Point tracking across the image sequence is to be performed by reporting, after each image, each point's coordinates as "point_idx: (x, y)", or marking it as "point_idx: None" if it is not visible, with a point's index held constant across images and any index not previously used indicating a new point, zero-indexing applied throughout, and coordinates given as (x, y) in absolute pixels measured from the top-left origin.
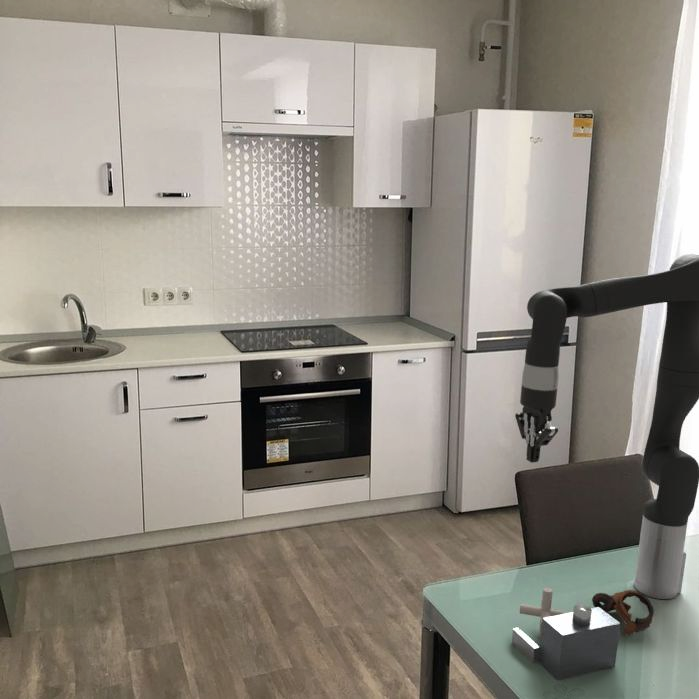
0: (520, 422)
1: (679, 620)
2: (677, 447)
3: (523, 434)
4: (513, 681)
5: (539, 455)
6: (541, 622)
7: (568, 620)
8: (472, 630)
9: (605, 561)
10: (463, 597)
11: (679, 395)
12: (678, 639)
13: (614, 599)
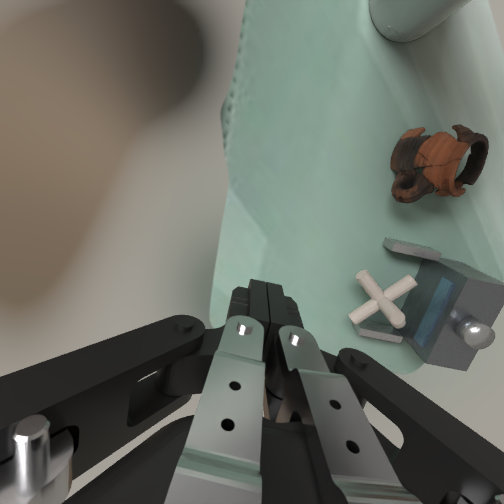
0: (74, 476)
1: (482, 67)
2: None
3: (174, 404)
4: (397, 368)
5: (298, 312)
6: (396, 327)
7: (454, 341)
8: None
9: None
10: None
11: None
12: (500, 126)
13: (434, 184)
